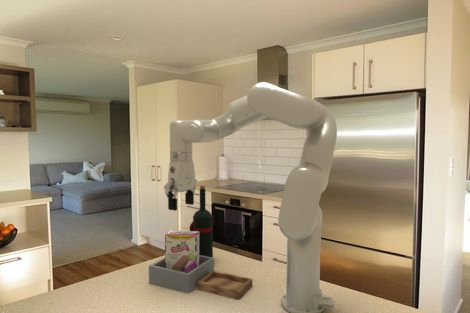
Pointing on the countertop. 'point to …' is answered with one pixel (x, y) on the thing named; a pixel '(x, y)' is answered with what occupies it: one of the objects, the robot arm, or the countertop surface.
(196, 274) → the deep bin
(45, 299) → the countertop surface
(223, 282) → the walnut tray
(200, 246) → the wine bottle
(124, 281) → the countertop surface
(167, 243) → the candy bar box
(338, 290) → the countertop surface
